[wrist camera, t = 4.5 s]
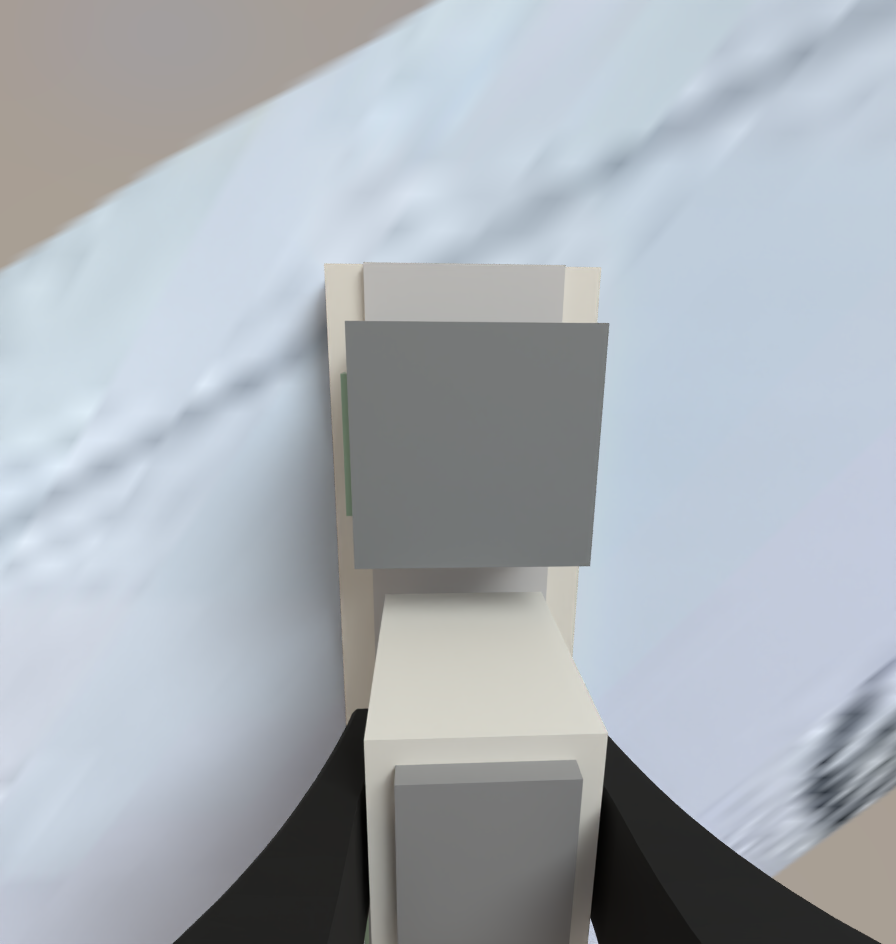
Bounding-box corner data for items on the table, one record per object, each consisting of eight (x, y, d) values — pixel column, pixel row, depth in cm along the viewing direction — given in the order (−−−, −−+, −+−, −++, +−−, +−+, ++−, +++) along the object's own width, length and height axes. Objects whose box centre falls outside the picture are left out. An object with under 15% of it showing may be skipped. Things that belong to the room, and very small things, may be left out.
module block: (540, 591, 13) (616, 752, 8) (530, 782, 15) (588, 1022, 10) (385, 594, 13) (360, 759, 8) (390, 787, 15) (372, 1035, 9)
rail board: (587, 273, 14) (669, 238, 10) (545, 887, 20) (584, 1064, 15) (332, 269, 14) (284, 232, 9) (360, 895, 19) (338, 1078, 15)
